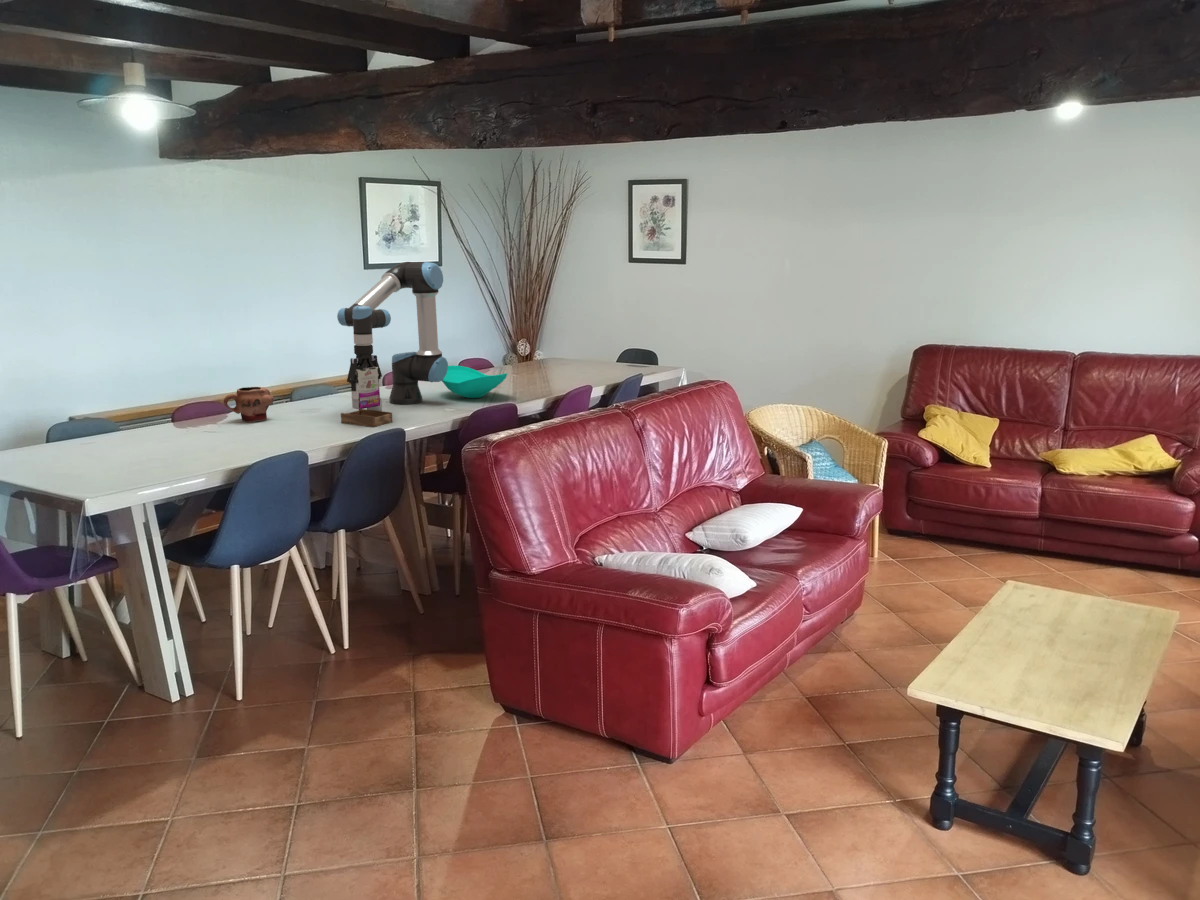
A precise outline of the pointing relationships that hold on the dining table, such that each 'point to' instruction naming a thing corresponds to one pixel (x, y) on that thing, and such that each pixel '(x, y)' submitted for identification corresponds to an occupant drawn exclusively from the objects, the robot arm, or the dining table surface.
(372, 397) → the candy bar box
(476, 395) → the table top decor
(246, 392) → the brown sculpted mug
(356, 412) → the crate
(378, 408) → the white rounded block
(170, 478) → the dining table surface
